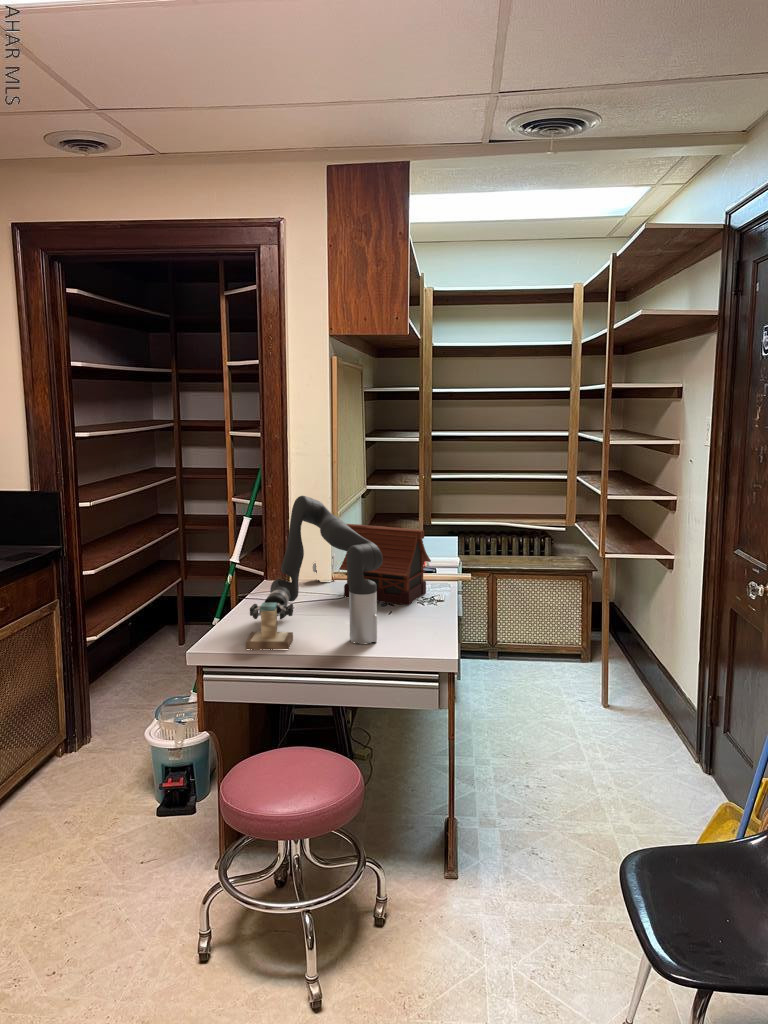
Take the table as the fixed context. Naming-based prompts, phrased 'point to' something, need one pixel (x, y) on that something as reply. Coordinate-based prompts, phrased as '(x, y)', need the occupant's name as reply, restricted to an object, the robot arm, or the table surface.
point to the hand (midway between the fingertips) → (267, 616)
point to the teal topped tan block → (268, 620)
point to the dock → (269, 641)
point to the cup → (332, 565)
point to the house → (395, 563)
